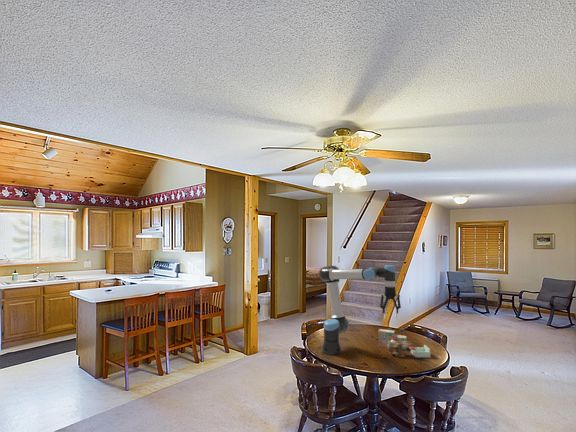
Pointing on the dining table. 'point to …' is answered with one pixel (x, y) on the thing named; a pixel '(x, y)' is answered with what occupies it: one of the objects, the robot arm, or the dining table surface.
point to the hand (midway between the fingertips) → (390, 317)
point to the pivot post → (399, 351)
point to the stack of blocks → (389, 337)
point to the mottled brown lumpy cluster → (404, 344)
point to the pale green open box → (421, 352)
